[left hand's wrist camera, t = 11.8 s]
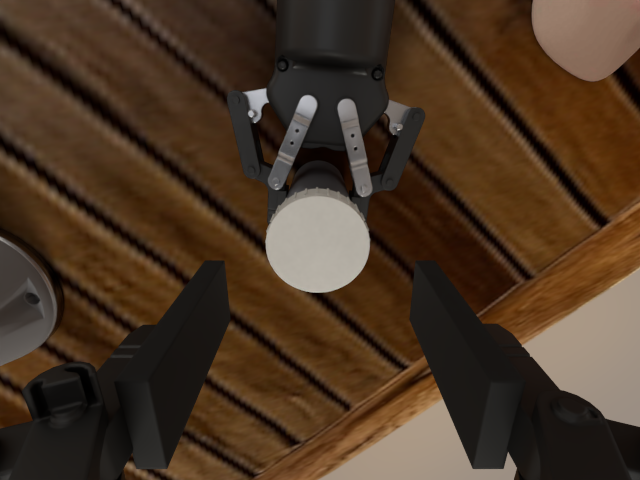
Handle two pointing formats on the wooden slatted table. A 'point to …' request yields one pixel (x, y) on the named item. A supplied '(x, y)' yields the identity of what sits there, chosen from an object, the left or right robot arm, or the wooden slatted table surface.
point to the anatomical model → (587, 34)
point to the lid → (317, 240)
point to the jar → (318, 178)
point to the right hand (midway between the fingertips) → (315, 235)
